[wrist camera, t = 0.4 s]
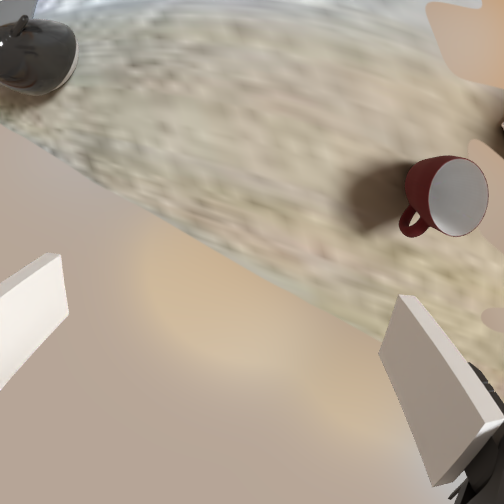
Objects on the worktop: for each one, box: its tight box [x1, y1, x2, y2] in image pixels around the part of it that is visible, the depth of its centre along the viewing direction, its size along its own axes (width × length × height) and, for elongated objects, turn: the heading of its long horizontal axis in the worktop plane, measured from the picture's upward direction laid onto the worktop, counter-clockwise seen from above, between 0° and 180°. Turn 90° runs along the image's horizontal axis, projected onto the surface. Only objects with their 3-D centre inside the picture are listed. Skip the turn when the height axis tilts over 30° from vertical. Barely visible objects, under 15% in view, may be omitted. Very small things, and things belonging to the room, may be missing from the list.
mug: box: [399, 156, 489, 238], centre depth 32 cm, size 10×8×10 cm
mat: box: [0, 0, 38, 25], centre depth 29 cm, size 12×10×1 cm
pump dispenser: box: [0, 15, 79, 96], centre depth 25 cm, size 10×10×15 cm
